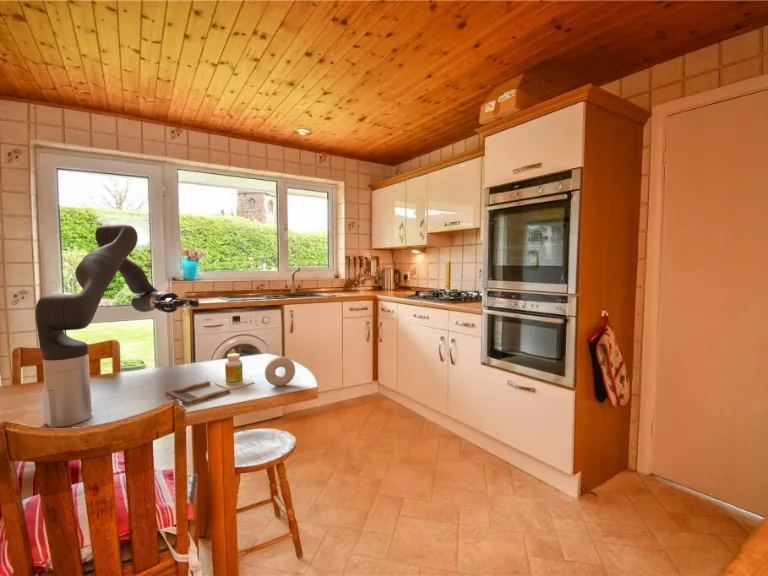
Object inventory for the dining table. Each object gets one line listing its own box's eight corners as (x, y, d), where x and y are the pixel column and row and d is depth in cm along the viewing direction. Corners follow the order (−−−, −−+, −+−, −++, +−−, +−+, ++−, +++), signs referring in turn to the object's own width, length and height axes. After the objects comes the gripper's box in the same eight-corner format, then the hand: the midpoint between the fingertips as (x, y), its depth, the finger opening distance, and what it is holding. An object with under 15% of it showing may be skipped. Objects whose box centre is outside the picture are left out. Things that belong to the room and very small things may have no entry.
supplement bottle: (237, 385, 128) (236, 357, 127) (222, 384, 129) (221, 356, 128) (245, 380, 133) (245, 353, 133) (231, 379, 134) (230, 352, 134)
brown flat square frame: (187, 406, 112) (187, 401, 112) (165, 395, 120) (165, 391, 120) (230, 392, 123) (230, 389, 123) (207, 384, 131) (207, 380, 131)
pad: (230, 390, 125) (230, 388, 125) (215, 384, 131) (215, 383, 131) (254, 383, 132) (254, 381, 132) (239, 377, 138) (239, 376, 138)
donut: (266, 389, 126) (265, 359, 125) (264, 386, 129) (263, 357, 128) (296, 385, 130) (296, 356, 129) (294, 382, 133) (293, 354, 132)
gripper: (143, 293, 140) (163, 295, 130) (183, 291, 151) (205, 292, 141) (144, 313, 140) (164, 317, 130) (184, 310, 151) (205, 313, 142)
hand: (185, 304), depth 136 cm, fingers open, 8 cm apart
